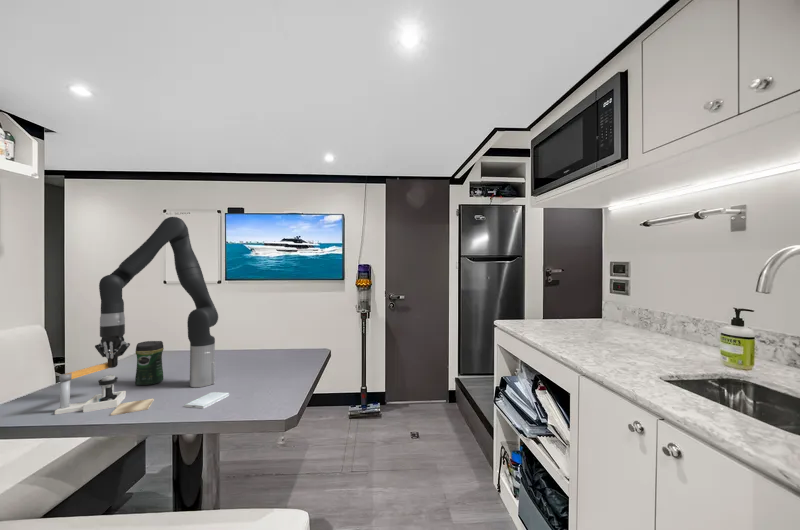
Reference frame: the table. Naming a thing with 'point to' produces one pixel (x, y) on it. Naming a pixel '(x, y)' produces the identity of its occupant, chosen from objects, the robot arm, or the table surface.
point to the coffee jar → (149, 363)
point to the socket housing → (85, 406)
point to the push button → (108, 387)
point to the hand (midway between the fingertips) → (112, 367)
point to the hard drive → (207, 400)
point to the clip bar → (83, 372)
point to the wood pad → (132, 406)
